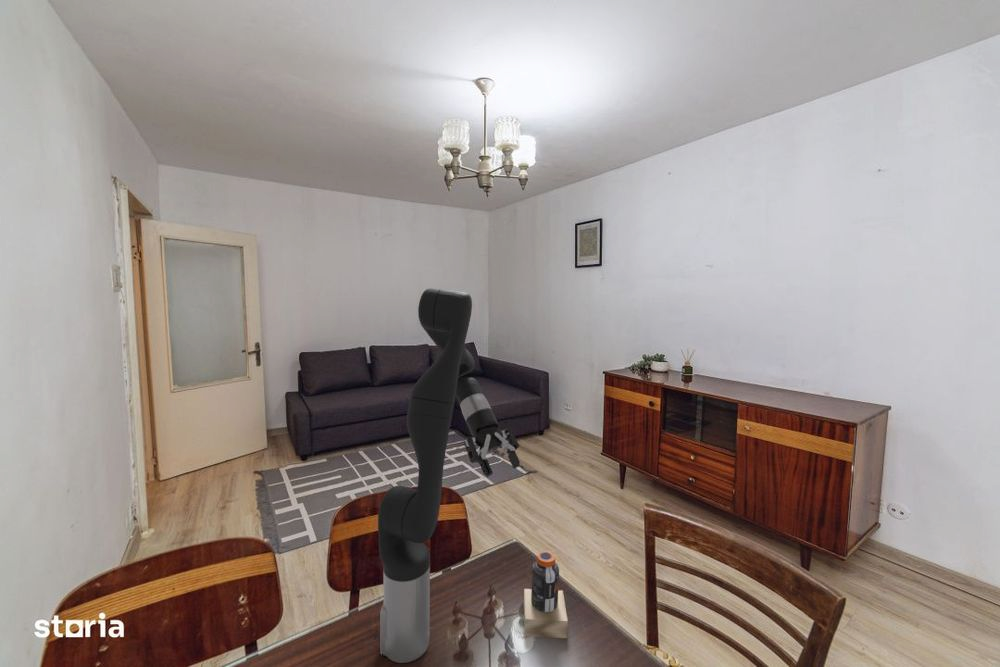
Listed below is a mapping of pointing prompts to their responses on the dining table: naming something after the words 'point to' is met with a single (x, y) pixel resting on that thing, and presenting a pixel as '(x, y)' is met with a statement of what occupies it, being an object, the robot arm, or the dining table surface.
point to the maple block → (545, 619)
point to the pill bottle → (545, 582)
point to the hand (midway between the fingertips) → (503, 471)
